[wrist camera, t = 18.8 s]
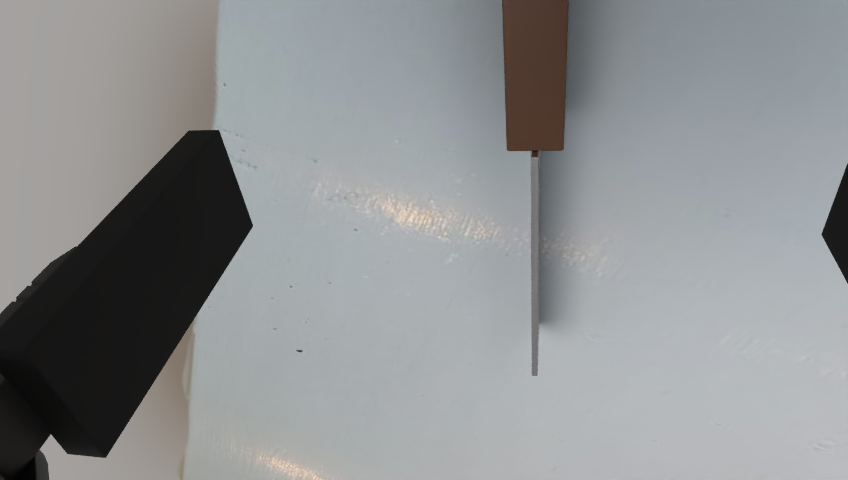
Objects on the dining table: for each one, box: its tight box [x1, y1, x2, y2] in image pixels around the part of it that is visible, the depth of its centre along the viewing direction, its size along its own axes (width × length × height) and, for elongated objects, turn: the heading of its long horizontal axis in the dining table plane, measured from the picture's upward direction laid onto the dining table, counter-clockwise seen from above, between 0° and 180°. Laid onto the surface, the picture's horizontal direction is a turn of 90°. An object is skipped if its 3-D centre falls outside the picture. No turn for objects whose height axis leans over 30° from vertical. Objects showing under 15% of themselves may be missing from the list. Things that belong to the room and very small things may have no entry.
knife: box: [502, 0, 569, 376], centre depth 28 cm, size 24×2×4 cm, turn 6°
